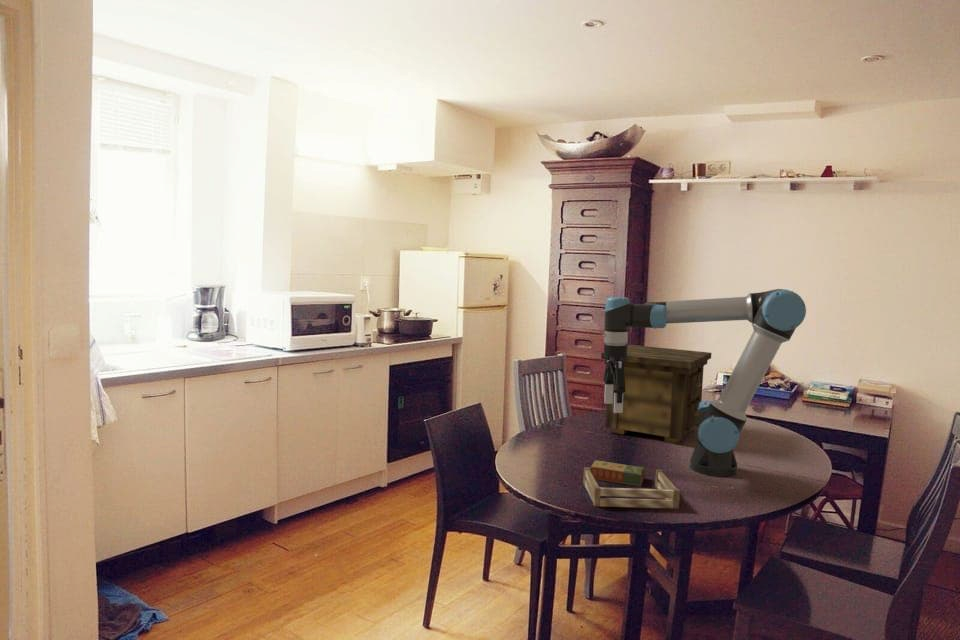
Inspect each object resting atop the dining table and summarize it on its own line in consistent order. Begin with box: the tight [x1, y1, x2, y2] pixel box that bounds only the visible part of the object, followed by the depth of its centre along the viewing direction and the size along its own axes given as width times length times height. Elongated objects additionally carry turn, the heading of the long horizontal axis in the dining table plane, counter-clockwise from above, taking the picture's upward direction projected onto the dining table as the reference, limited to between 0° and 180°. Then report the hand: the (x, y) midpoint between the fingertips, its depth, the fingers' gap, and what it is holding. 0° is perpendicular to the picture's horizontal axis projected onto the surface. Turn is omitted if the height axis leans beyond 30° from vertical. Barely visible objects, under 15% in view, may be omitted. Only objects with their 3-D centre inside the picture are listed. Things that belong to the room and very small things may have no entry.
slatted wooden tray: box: [582, 466, 681, 510], centre depth 187 cm, size 24×18×5 cm
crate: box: [600, 344, 712, 445], centre depth 261 cm, size 35×35×33 cm
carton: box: [589, 460, 646, 487], centre depth 202 cm, size 8×16×4 cm, turn 69°
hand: (613, 408), depth 210 cm, fingers open, 13 cm apart
